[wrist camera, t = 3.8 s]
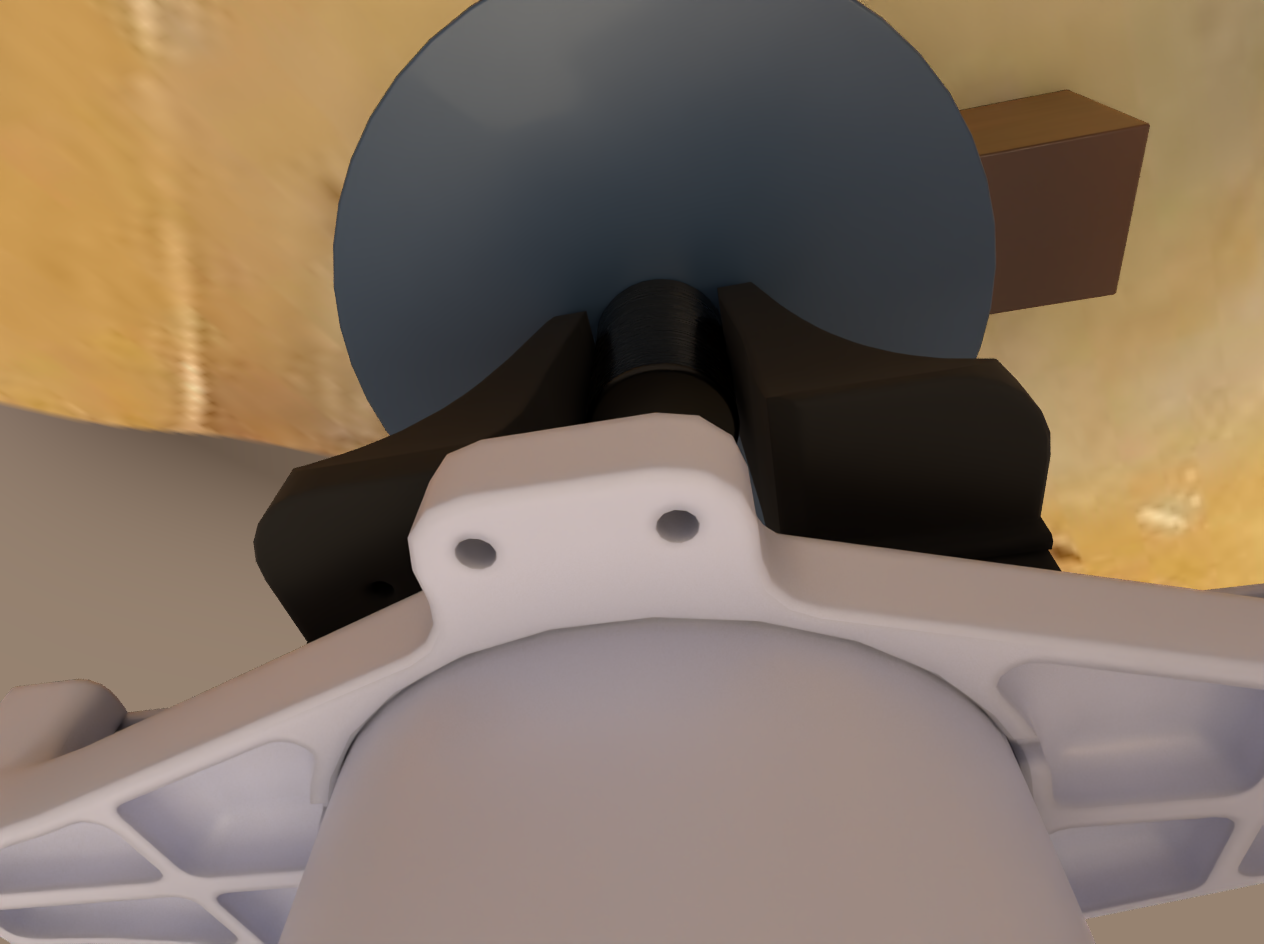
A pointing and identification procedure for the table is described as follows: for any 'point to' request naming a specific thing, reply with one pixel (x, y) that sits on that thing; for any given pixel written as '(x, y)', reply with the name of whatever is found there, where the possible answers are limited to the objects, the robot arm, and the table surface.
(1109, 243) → the block
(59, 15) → the table surface
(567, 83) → the lid
